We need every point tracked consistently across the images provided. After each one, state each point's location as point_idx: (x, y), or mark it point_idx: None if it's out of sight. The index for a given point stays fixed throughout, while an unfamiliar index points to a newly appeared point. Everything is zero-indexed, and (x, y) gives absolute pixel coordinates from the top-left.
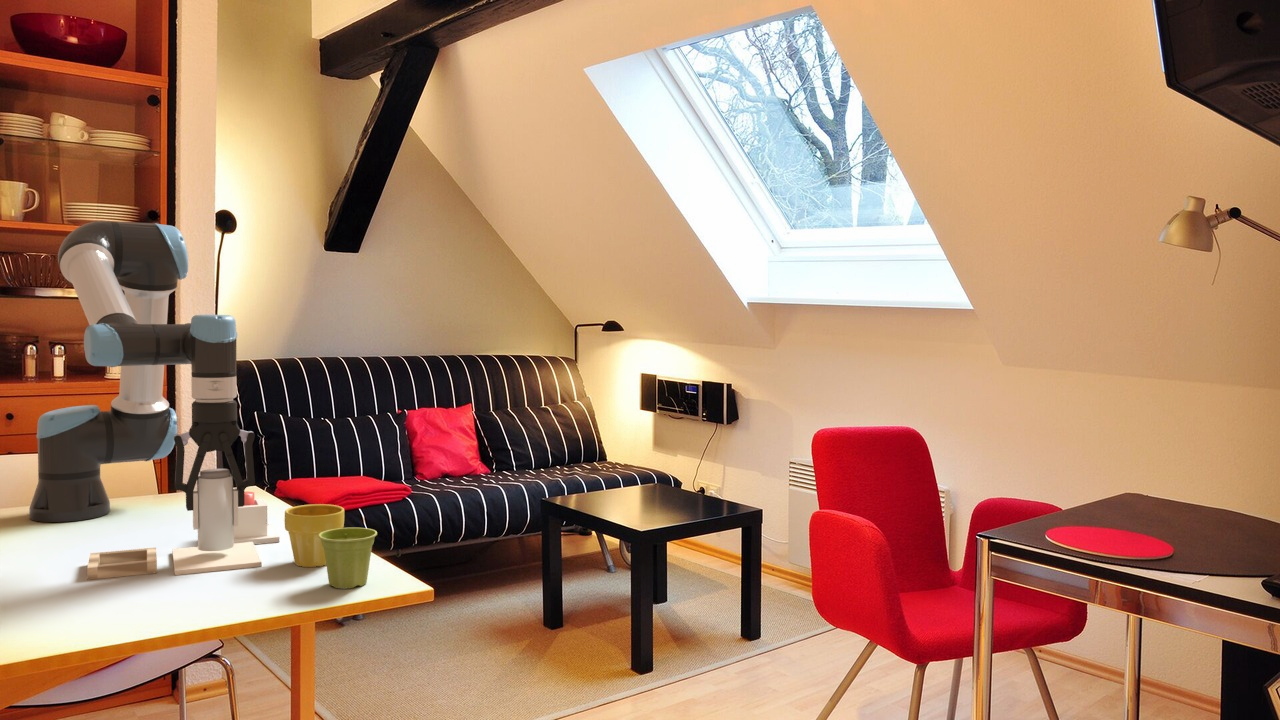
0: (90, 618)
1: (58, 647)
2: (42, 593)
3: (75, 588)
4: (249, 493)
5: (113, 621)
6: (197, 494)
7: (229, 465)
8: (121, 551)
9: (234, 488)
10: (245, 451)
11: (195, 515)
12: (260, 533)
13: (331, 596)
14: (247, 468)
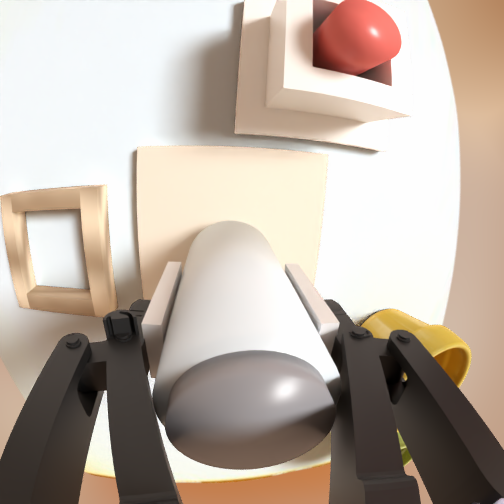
0: (94, 436)
1: (100, 469)
2: (8, 335)
3: (31, 334)
4: (388, 40)
5: None
6: None
7: (342, 438)
8: (39, 200)
9: (329, 329)
10: (433, 490)
11: None
12: (355, 119)
13: (330, 449)
14: (400, 429)
